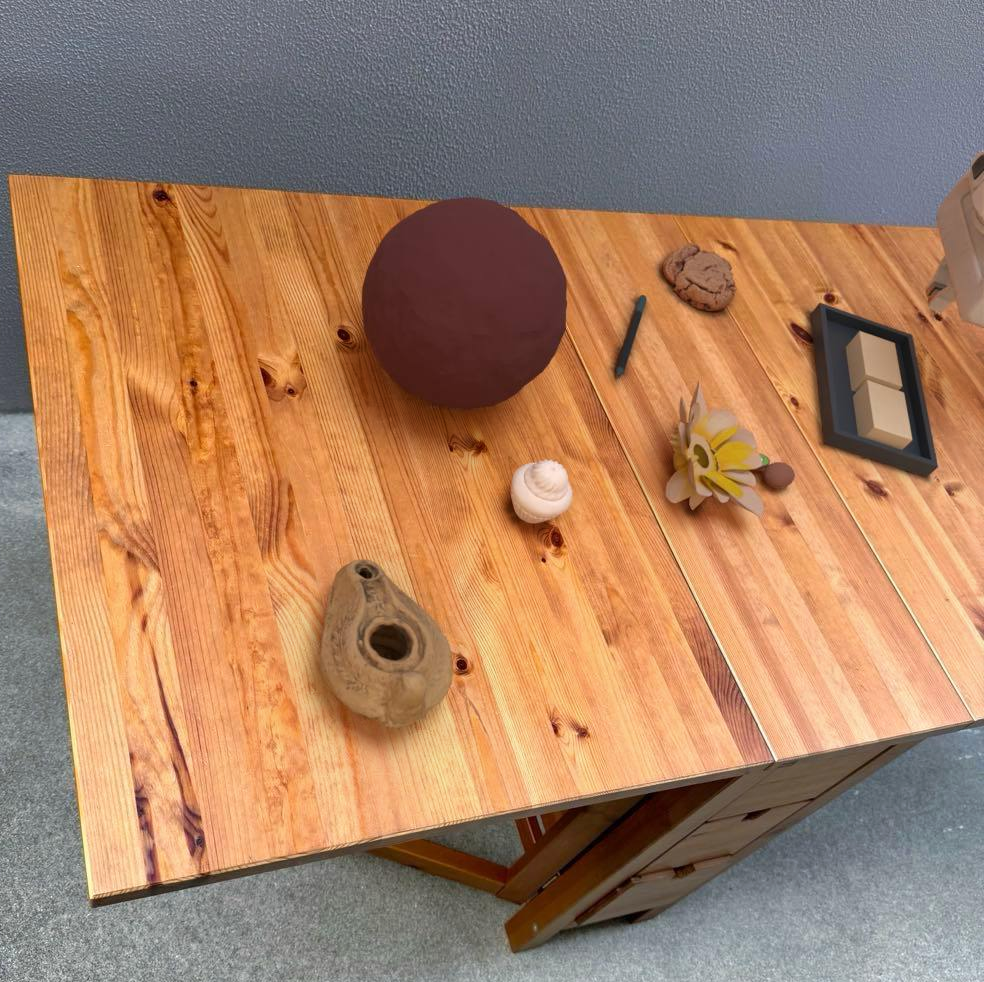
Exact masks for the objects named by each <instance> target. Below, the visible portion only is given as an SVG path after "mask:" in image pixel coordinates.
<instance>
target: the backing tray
mask: <svg viewBox="0 0 984 982" xmlns="http://www.w3.org/2000/svg"><path fill="white" fill-rule="evenodd" d="M810 320H811V321H810V322H811V330H812V331H811V332H812V340H813V349H814V359H815V370H816V379H817V389H818V398H819V400H818V401H819V408H820V417H821V428H822V439H823V444H824V445H827V446H830V447H833V448H836V449H839V450H842V451H845V452H848V453H851V454H855V455H857V456H860V457H863V458H866V459H869V460H872V461H875V462H878V463H882V464H885V465H887V466H891V467H894V468H896V469H900V470H903V471H905V472H909V473H911V474H915V475H918V476H921V477H922V478H923V477H924V478H928V477H929V476H930V475H931V474H932V473H934V472H935V471H936V470H937V469H938V468H939V464H938V458H937V453H936V449H935V443H934V437H933V433H932V427H931V422H930V417H929V412H928V408H927V401H926V397H925V393H924V386H923V381H922V376H921V371H920V367H919V361H918V357H917V356H918V355H917V352H916V348H915V347H916V346H915V342H914V341H915V340H914V337H913V334H911V333H908V332H905V331H902V330H900V329H896V328H894V327H891V326H888V325H885V324H882V323H879V322H877V321H873V320H871V319H868V318H866V317H863V316H861V315H856V314H854V313H851V312H848V311H846V310H843V309H840V308H837V307H835V306H831V305H829V304H826V303H822V302H819V303H818V304H817V305H816V306H815V308H814V309H813V311H812V312H810ZM859 331H861V332H864V333H867V334H870V335H873V336H876V337H878V338H881V339H884V340H887V341H890V342H893V343H895V348H896V353H897V359H898V365H899V370H900V376H901V381H902V387H901V388H900V389H899V391H901V392H904V395H905V401H906V407H907V412H908V418H909V423H910V429H911V435H912V441H911V442H910V443H909V444H908V445H907V446H906V447H905V448H904V449H903V450H899V449H896V448H893V447H890V446H887V445H884V444H881V443H878V442H875V441H872V440H869V439H866V438H863V437H860V436H858V432H857V425H856V417H855V410H854V402H853V396H854V394H855V393H856V392H855V391H852V390H851V384H850V376H849V369H848V361H847V354H846V346H847V345H848V344H849V343H850V342H851V341H852V339H853V338H854V337H855V336H856V335H857V333H858V332H859Z"/></svg>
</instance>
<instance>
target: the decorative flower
mask: <svg viewBox="0 0 984 982" xmlns="http://www.w3.org/2000/svg"><path fill="white" fill-rule="evenodd" d="M678 411H679V412H678V413H679V421H678V428H675V429H674V430H675V432H676V433H670V434H669V435H670V436H671V438H672V439H673V440H669V443H670V444H671V445H673V446H675V447H673V448H672V450H673V451H674V454H673V459H672V462H673V464H672V465H673V469H674V470H675V472H674V473H673V475H671V477H669V480H668V481H667V482H666V486H665V497H666V499H667V500H668V501H669V502H670V503H673V504H677V503H680V502H682V501H684V500H687V499H689V503H688V505H689V506H690V509H691V510H692V511H694V510H695V509H696V508H697V507H698V506H699V505H700V504H701V503H702V502H703V501H704V500H705V499H706V498H707V497H711V496H713V497H714V498H715V499H717V500H718V502H720V503H722V504H725V503H726V502H729V500H730V501H731V502H733V503H734V504H735V505H738V506H739V507H741V509H744V510H746V511H748V512H749V513H752V514H755V515H756V516H759V517H762V516H764V511H765V504H764V502H763V499H762V497H761V496H760V495H759V494H758V493H757V492H756V491H755V490H754V489H752V488H751V487H754V486H755V485H756V484H757V480H756V477H755V475H754V474H753V473H752V471H751V470H750V469H756V468H758V467H760V466H762V458H761V456H760V454H761V453H760V452H759V451H758V449H757V447H758V444H757V441H756V438H755V436H754V433H753V432H752V431H750V430H749V429H748V428H745V427H742V426H739V425H740V421H739V420H738V418H737V417H736V416H737V415H735V413H733V412H732V411H731V410H729V409H727V408H724V407H723V408H722V407H721V408H713V409H712V410H708V406H707V403H706V401H705V397H704V394H703V390H702V385H701V383H700V380H697V383H696V387H695V390H694V393H693V395H692V399H691V402H690V406H689V411H688V419H687V410H686V403H685V400H684V397H683V395H680V398H679V410H678ZM759 453H760V454H759ZM749 486H751V487H749Z"/></svg>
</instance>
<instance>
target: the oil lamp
mask: <svg viewBox="0 0 984 982" xmlns="http://www.w3.org/2000/svg"><path fill="white" fill-rule="evenodd" d="M319 642H320V643H319V649H318V662H319V663H318V664H319V667H320V670H321V674H322V676H323V678H324V679H325V681H326V683H327V686H328V687H329V689H330V690H331V692H332V693H333V695H334V696H335V697H336V698H337V700H339V701H340V703H342V704H343V705H344V706H345V707H346V708H347V709H348V710H350V712H352V713H354V714H358V715H362V716H364V717H366V718H369V719H371V720H374V721H376V722H377V723H379V724H381V725H382V726H383V727H385V728H388V729H398V728H399V729H400V728H405V727H408V726H411V725H412V724H414V723H417V722H418V721H421V720H424V719H425V718H426V714H427V713H428V712H430V711H431V710H433V709H434V708H435V707H437V706H438V705H439V704H440V703H441V702H442V701H443V700H444V699H445V697H446V695H447V693H448V691H449V689H450V687H451V684H452V682H453V678H454V677H453V676H454V670H453V658H452V652H451V646H450V644H449V640H448V639H447V636H445V634H444V632H443V630H442V629H441V626H439V624H438V623H437V622H436V620H435V619H434V618H433V617H432V616H431V615H430V614H429V613H428V612H427V611H426V610H425V609H423V608H422V606H421V605H419V603H417V602H416V601H415V600H414V598H412V597H410V596H409V595H408V594H407V593H406V591H405V592H404V591H403V590H402V589H401V588H400V587H399V586H398V585H397V584H395V582H393V580H392V579H391V578H390V577H389V576H388V575H387V573H386V572H385V570H384V569H383V567H381V566H380V565H379V564H378V563H376V562H374V561H372V560H370V559H355V560H353V561H351V562H349V563H347V564H345V565H343V566H342V567H341V568H340V569H339V570H338V571H337V572H336V573H335V576H334V578H333V581H332V583H331V587H330V590H329V594H328V599H327V603H326V609H325V615H324V620H323V626H322V631H321V636H320V641H319Z"/></svg>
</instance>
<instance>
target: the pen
mask: <svg viewBox="0 0 984 982" xmlns="http://www.w3.org/2000/svg"><path fill="white" fill-rule="evenodd" d="M647 300H648V299H647V296H646V295H644V294H642V295H639V296H638V298H637V302H636V305H635V307H634V311H633V314H632V317H631V320H630V323H629V326H628V330H627V332H626V336H625V338H624V342H623V345H622V348H621V351H620V354H619V357H618V361H617V363H616V366H615V375H616V378H617V379H618V378H620V377H621V375H622V374H623V373H624V372H625V370H626V368H627V364H628V361H629V358H630V354H631V351H632V348H633V345H634V341H635V338H636V335H637V332H638V329H639V326H640V323H641V319H642V316H643V314H644V310H645V306H646V303H647Z"/></svg>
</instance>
